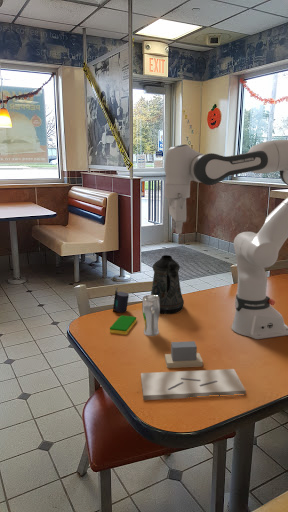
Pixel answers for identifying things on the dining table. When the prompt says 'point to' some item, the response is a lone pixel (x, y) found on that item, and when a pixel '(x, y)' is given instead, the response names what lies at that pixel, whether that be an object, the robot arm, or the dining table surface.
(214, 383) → the marked board
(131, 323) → the dish sponge
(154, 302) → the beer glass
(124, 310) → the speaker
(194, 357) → the block
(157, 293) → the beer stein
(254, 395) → the dining table surface
